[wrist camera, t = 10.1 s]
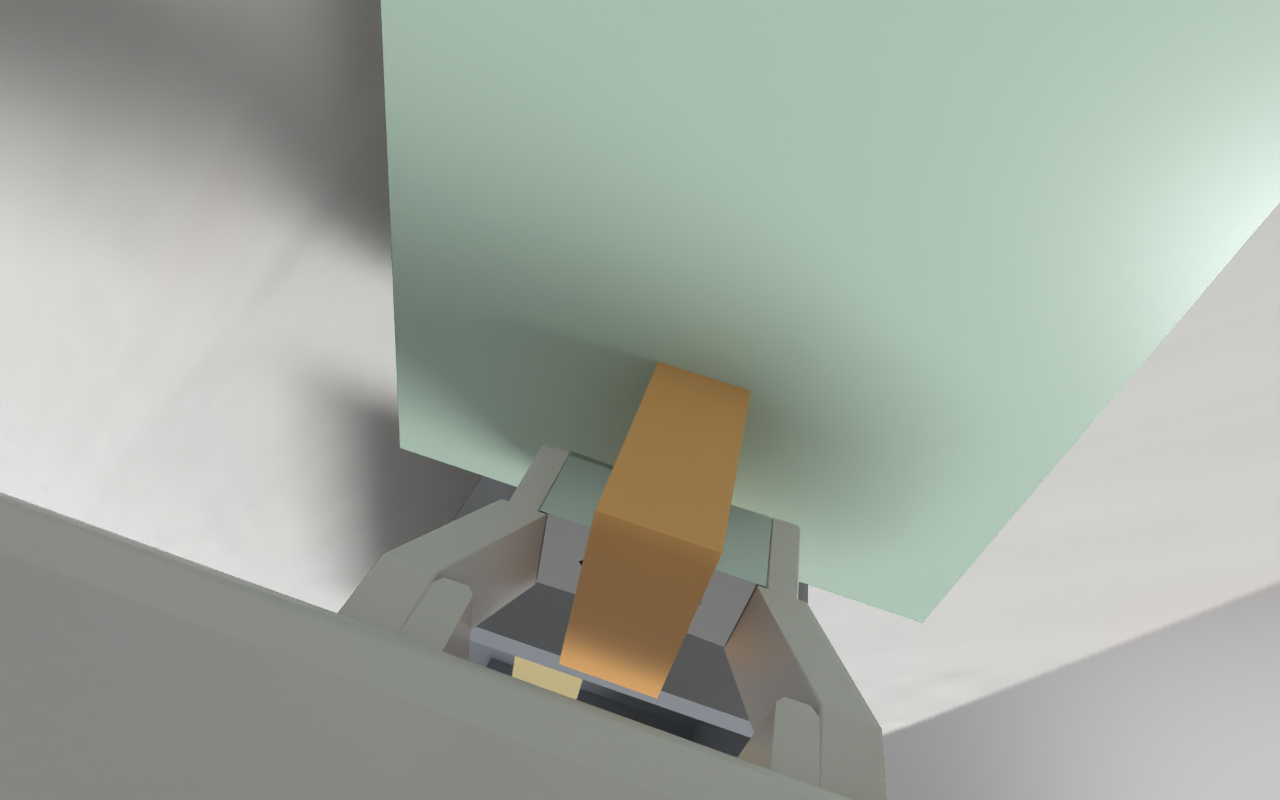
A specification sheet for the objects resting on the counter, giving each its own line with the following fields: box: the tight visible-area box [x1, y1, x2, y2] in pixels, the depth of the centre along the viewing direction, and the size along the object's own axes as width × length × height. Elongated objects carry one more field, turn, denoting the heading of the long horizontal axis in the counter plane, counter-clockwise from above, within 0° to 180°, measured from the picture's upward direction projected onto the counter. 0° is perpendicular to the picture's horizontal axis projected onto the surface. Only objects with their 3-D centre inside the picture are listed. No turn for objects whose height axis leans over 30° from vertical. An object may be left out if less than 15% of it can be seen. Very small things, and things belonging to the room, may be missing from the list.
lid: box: [381, 0, 1280, 699], centre depth 9 cm, size 13×15×6 cm
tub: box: [453, 476, 808, 757], centre depth 24 cm, size 12×14×7 cm
